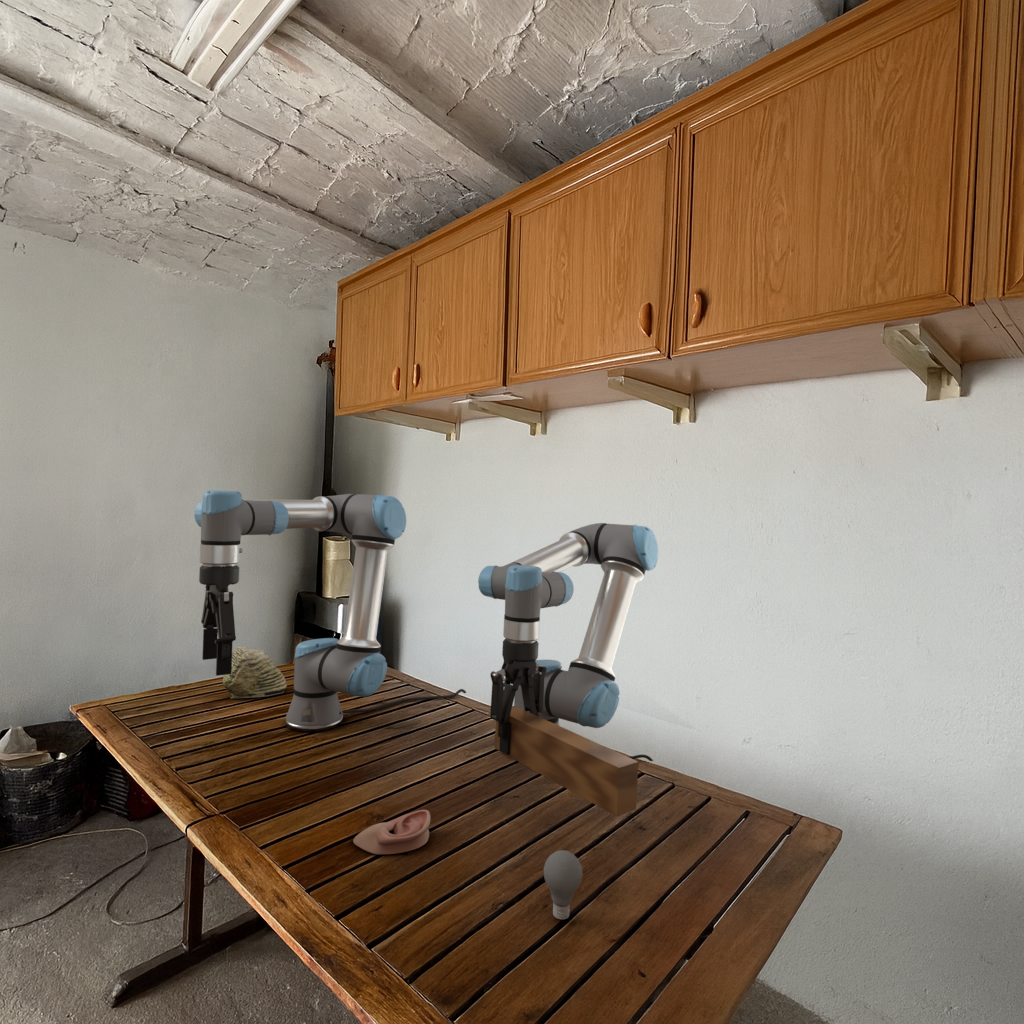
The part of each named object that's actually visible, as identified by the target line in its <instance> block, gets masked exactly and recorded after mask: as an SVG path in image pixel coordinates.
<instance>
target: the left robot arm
mask: <svg viewBox="0 0 1024 1024" xmlns="http://www.w3.org/2000/svg"><path fill="white" fill-rule="evenodd" d="M193 516H194V520H195V523H196V524H197V526H198V527H200V543H199V563H200V564H202V565H201V566H199V574H198V575H199V576H198V577H199V578H198V582H199V584H201V585H204V586H205V593H204V594H205V595H204V596H205V597H204V602H203V609H202V613H201V614H202V615H201V620H200V622H201V624H202V627H203V631H202V660H203V661H206V660H207V661H208V660H215V661H216V662H215V663H216V665H215V676H217V677H218V676H223V675H227V674H231V668H232V653H233V643H234V642H235V641H236V640H237V636H236V626H235V625H236V624H235V612H234V592H233V591H229V586H231V585H236V584H239V581H240V566H239V565H237V564H239V563H240V554H241V553H243V551H244V550H243V548H240V547H241V537H242V536H259V535H260V536H263V535H264V536H266V535H268V536H272V535H278V534H281V533H283V532H284V531H285V530H289V529H291V530H292V529H313V530H315V531H317V532H333V533H339V534H342V535H343V534H344V535H351V543H352V544H353V546H355V553H354V559H353V560H354V561H353V567H352V575H351V582H350V590H349V595H348V603H347V610H346V616H345V624H344V630H343V635H342V637H341V638H339V639H338V638H335V637H324V638H323V637H322V638H313V639H308V640H304V641H302V642H299V643H298V644H297V645H296V647H295V652H294V653H295V654H294V657H293V658H294V660H293V662H294V663H293V665H294V666H293V695H292V696H293V697H292V699H291V702H290V704H289V708H288V711H287V713H286V715H285V726H286V728H287V729H289V730H291V731H294V732H295V731H296V732H301V733H316V732H325V731H329V730H332V729H335V728H337V727H339V726H340V725H342V723H343V722H344V714H353V713H367V712H372V711H376V710H379V709H382V708H386V707H389V706H392V705H396V704H400V703H404V702H411V701H421V700H422V701H424V700H425V701H427V700H441V699H442V700H443V699H451V698H455V697H457V696H458V695H459V694H460V693H463V694H467V691H466V690H465V689H463V688H460V689H458V690H457V691H455V693H452V694H447V695H431V696H416V697H406V698H400V699H396V700H393V701H389V702H385V703H382V704H379V705H376V706H373V707H369V708H358V709H357V708H355V709H344V710H343V709H342V706H341V702H340V699H339V695H338V693H342V694H346V695H349V696H351V697H361V698H364V697H365V698H367V697H370V696H372V695H373V694H374V693H376V692H377V691H378V689H379V688H380V687H382V684H383V683H384V680H385V678H386V675H387V671H388V663H387V661H386V657H385V656H384V655H383V654H382V653H381V646H382V645H381V644H380V643H379V641H378V640H377V634H378V626H379V619H380V612H381V604H382V597H383V588H384V582H385V577H386V576H385V574H386V567H387V560H388V553H389V551H390V550H391V549H392V548H394V547H395V542H396V540H397V539H399V538H401V537H402V535H403V533H404V532H405V531H406V527H407V514H406V510H405V508H404V506H403V504H402V502H401V501H400V499H398V498H397V497H395V496H392V495H385V494H370V493H369V494H368V493H367V494H364V493H344V494H338V495H327V496H321V495H320V496H319V495H318V496H315V497H313V499H276V498H275V499H274V498H273V499H271V498H265V499H264V498H243V493H242V492H240V491H238V490H237V491H236V490H215V489H213V490H212V489H211V490H210V489H209V490H206V491H205V492H203V495H202V499H201V500H200V501H199V502H198V503H197V504H196V506H195V509H194V515H193Z"/></svg>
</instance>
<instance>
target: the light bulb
mask: <svg viewBox="0 0 1024 1024" xmlns="http://www.w3.org/2000/svg"><path fill="white" fill-rule="evenodd" d="M543 877H544V878H543V879H544V881H545V884H546V885H547V887H548V889H549V892H550V896H551V898H550V899H551V900H552V915H553V917H554V918H555V919H558V920H566V919H569V917H570V910H571V909H570V908H571V904H572V901H573V898H574V894H575V893H576V891H577V890H578V889H579V887H580V885H581V883H582V880H583V866H582V864H581V862H580V860H579V859H578V857H577V856H575V854H573V853H572V852H570V851H568V850H564V849H561V850H556V851H555V852H553V853H552V854H550V855H549V856H548V857H547V859H546V861H545V862H544V865H543Z"/></svg>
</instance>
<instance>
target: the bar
mask: <svg viewBox="0 0 1024 1024" xmlns="http://www.w3.org/2000/svg"><path fill="white" fill-rule="evenodd" d="M503 716H504V715H503ZM508 722H510V723H511V743H510V755H506V756H508V758H509V757H510V758H511V759H513V760H515V761H516V762H518V763H520V764H522V765H523V766H525V767H527V768H529V769H530V770H532V771H534V772H536V773H538V774H539V775H542V777H543V776H544V777H545V778H547V779H549V780H550V781H552V782H554V783H555V784H558V785H559V786H561V787H563V788H565V789H566V790H568V791H570V792H572V793H573V794H575V795H577V796H579V797H581V798H583V799H584V800H586V801H588V802H590V803H592V804H593V805H595V806H596V807H599V808H600V809H602V810H604V811H606V812H607V813H609V814H611V815H613V816H614V817H619V816H622V815H624V814H628V813H629V812H632V811H635V810H637V801H638V800H637V799H638V798H637V797H638V794H637V793H638V778H639V761H638V760H637V759H631V758H629V757H630V756H628V755H624V754H622V753H620V752H618V751H616V750H614V749H611V748H609V747H607V746H606V745H603V744H600V743H598V742H595V741H594V740H592V739H590V738H587V737H584V735H583V736H582V735H581V734H578V733H576V732H574V731H572V730H569V729H567V728H566V727H562V726H561V725H559V726H558V725H556V724H554V723H552V722H549V721H547V720H545V719H543V718H541V717H538V716H536V715H534V714H532V713H530V712H527V711H525V710H523V709H521V708H519V707H516V706H514V705H512V709H511V713H510V717H509V721H508ZM494 729H495V730H494V749H495V750H496V751H499V746H500V737H498V721H496V720H495V728H494ZM499 752H500V751H499Z"/></svg>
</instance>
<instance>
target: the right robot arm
mask: <svg viewBox="0 0 1024 1024" xmlns="http://www.w3.org/2000/svg"><path fill="white" fill-rule="evenodd" d="M658 545H659V544H658V540H657V537H656V534H655V532H654V531H653V529H651V527H649V526H647V525H638V524H619V523H607V522H598V523H597V522H596V523H592V524H588V525H583V526H581V527H578V528H576V529H572V530H570V531H567V532H565V533H564V534H562V536H561V537H560V538H559V540H557V541H555V542H553V543H551V544H549V545H547V546H544V547H542V548H539V549H538V550H535V551H533V552H532V553H531V552H530V553H529V554H527V555H524V556H523V557H521V558H518V559H516V560H514V561H511V562H510V563H507V564H505V565H501V566H498V565H487V566H485V567H483V569H481V571H480V572H479V575H478V579H477V580H478V581H477V582H478V590H479V592H480V593H481V595H483V596H484V597H487V598H492V599H493V600H502V601H503V600H504V615H503V617H504V618H503V633H502V636H503V638H505V639H503V641H502V652H501V655H502V659H503V663H502V666H501V669H499V670H498V671H494V670H493V671H491V672H490V679H491V682H492V683H491V695H490V696H491V698H490V713H489V714H490V715H489V716H490V719H491V720H494V721H495V722H496V721H498V737H500V746H499V752H500V753H502V754H504V755H505V756H507V755H510V743H511V723H510V722H508V721H509V717H510V713H511V709H512V706H516V707H519V708H521V709H523V710H525V711H527V712H530V713H532V714H534V715H536V716H538V717H541V718H543V719H545V720H547V721H549V722H552V723H554V724H556V725H558V726H560V722H559V719H560V720H564V721H567V722H570V723H575V724H576V725H577V724H578V725H580V726H582V727H588V728H593V729H599V728H602V727H604V726H606V725H607V724H608V723H610V721H611V720H612V719H613V717H614V715H615V713H616V711H617V708H618V706H619V703H620V702H619V701H620V687H619V685H618V684H617V682H616V681H615V680H616V675H615V673H614V671H613V669H612V668H613V665H614V663H615V662H614V661H615V659H616V655H617V651H618V648H619V644H620V640H621V637H622V633H623V630H624V627H625V623H626V619H627V617H628V613H629V609H630V605H631V602H632V598H633V594H634V591H635V587H636V585H637V583H639V582H641V581H642V580H644V579H645V578H644V577H645V574H646V571H648V572H650V571H653V570H654V569H655V568H656V566H657V564H658V559H659V546H658ZM583 565H600V567H601V568H600V569H601V570H602V572H603V576H602V579H601V580H602V581H601V583H600V587H599V590H598V593H597V596H596V600H595V603H594V606H593V609H592V613H591V615H590V618H589V622H588V625H587V629H586V632H585V635H584V639H583V642H582V645H581V648H580V651H579V655H578V657H577V658H575V659H573V660H571V661H570V663H569V666H568V669H567V670H564V669H562V668H563V666H562V663H561V661H558V660H557V659H538V658H539V642H538V640H539V639H540V625H541V623H540V621H541V609H546V608H552V607H553V608H554V607H560V606H562V605H565V604H567V603H568V602H569V601H570V600H572V598H573V596H574V589H575V587H574V582H573V581H572V579H571V577H570V576H569V575H568V574H566V573H565V572H563V571H565V570H567V569H569V568H570V567H580V566H583ZM503 715H504V716H503ZM628 757H629V758H631V759H634V760H637V759H643V758H644V759H647V760H648V761H649V762H654V759H653V758H652V757H650V755H647V754H635V755H632V756H631V755H630V756H628Z"/></svg>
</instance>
